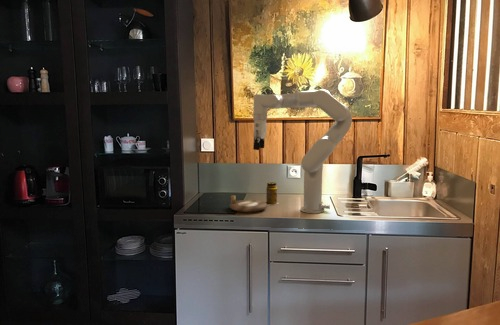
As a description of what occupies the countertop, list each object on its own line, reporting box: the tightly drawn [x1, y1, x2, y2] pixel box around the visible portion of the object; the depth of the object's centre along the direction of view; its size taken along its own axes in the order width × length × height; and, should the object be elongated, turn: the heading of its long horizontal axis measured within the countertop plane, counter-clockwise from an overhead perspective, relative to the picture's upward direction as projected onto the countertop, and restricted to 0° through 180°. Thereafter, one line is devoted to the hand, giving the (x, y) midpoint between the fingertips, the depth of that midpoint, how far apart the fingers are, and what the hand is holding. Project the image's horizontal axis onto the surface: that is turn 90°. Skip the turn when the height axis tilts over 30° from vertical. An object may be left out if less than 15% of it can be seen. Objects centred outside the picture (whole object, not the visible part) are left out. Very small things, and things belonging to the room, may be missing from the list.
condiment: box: [264, 181, 280, 206], centre depth 241 cm, size 7×8×12 cm
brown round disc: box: [229, 195, 268, 212], centre depth 227 cm, size 20×20×6 cm
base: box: [239, 211, 257, 213], centre depth 228 cm, size 12×12×1 cm
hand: (258, 148), depth 229 cm, fingers open, 9 cm apart
